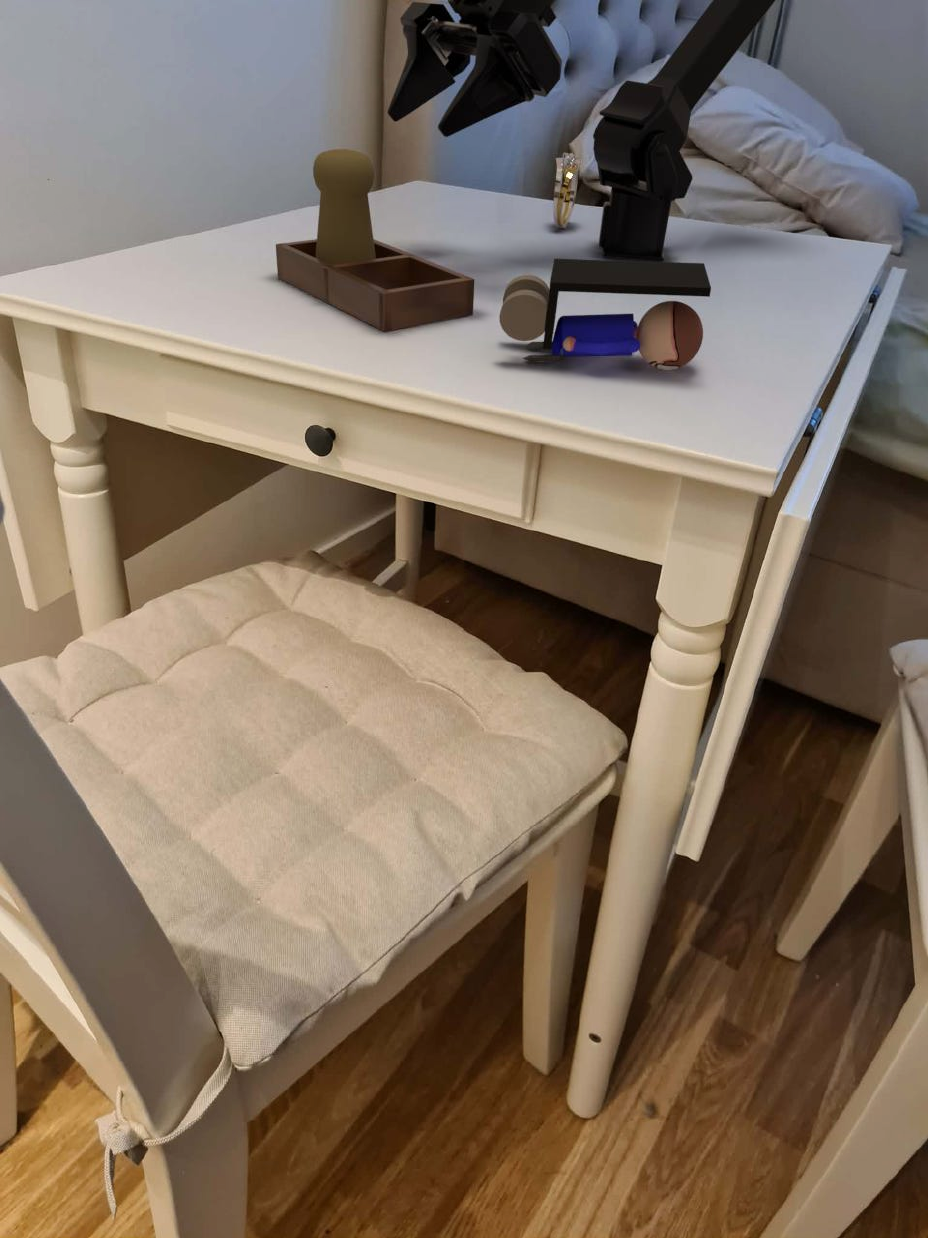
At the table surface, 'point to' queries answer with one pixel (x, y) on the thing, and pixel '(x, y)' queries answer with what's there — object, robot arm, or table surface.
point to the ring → (565, 188)
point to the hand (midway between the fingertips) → (415, 124)
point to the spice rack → (379, 285)
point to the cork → (344, 206)
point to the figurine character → (659, 337)
